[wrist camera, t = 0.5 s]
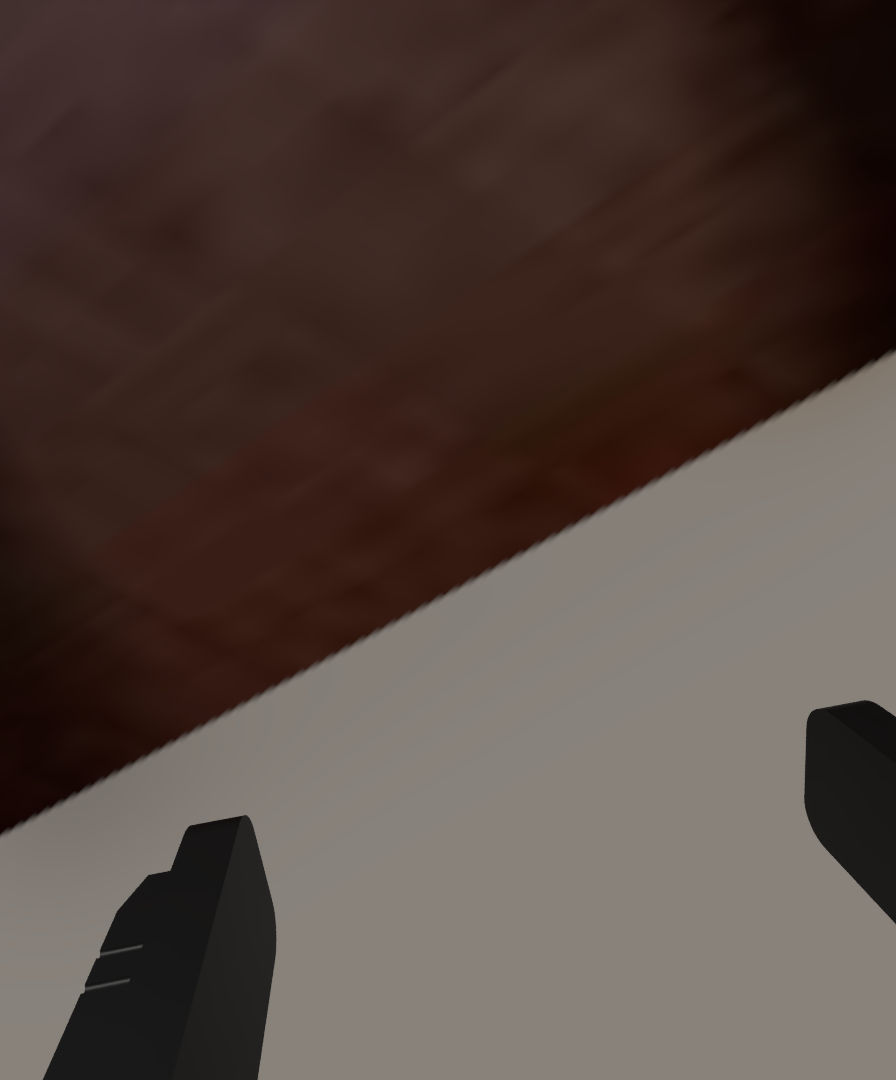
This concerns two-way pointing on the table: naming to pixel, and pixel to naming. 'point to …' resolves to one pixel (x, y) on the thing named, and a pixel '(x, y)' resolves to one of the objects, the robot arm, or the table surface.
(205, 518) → the table surface
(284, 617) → the table surface
